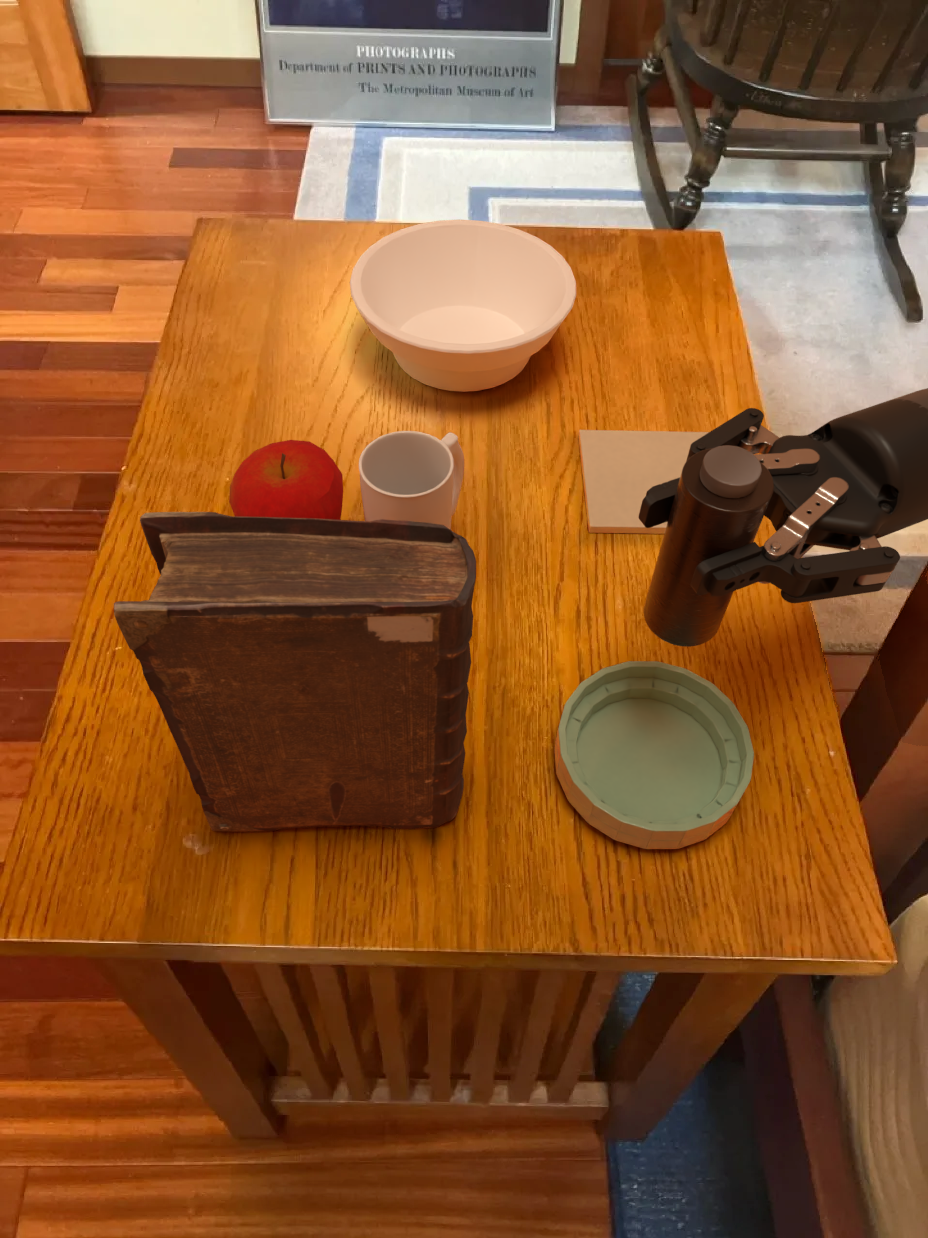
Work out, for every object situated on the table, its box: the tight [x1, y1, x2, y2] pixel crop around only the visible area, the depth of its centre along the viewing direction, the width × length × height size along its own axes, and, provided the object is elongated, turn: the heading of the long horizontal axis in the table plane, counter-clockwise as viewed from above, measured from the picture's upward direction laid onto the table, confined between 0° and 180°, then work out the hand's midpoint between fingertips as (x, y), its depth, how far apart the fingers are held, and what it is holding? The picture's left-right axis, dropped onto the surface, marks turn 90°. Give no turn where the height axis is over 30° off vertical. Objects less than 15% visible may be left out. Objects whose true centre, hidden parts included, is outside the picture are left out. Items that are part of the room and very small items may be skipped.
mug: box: [358, 430, 465, 530], centre depth 71 cm, size 10×7×12 cm, turn 142°
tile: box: [577, 429, 710, 535], centre depth 82 cm, size 12×12×1 cm
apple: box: [228, 439, 344, 520], centre depth 71 cm, size 9×8×12 cm
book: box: [113, 511, 477, 832], centre depth 53 cm, size 17×7×25 cm, turn 85°
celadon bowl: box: [553, 660, 755, 850], centre depth 64 cm, size 13×13×4 cm
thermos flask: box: [643, 445, 774, 648], centre depth 53 cm, size 5×5×13 cm
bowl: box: [349, 219, 577, 392], centre depth 89 cm, size 21×21×8 cm
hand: (670, 545), depth 51 cm, fingers closed on thermos flask, 5 cm apart
